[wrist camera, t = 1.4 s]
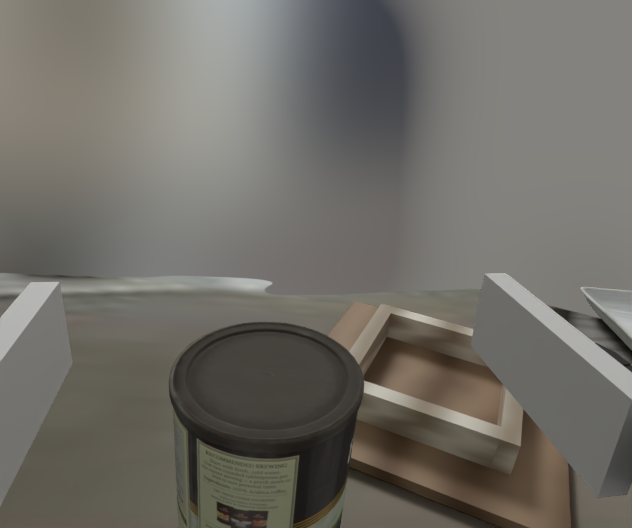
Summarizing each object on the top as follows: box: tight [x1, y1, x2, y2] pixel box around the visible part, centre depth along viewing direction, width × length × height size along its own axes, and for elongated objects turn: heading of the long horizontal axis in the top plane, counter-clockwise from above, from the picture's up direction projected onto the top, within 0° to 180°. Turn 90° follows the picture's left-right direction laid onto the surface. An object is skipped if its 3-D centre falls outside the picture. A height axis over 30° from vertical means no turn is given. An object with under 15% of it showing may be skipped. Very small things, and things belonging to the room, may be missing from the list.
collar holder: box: [328, 301, 571, 528], centre depth 47 cm, size 24×24×4 cm
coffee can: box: [169, 322, 364, 528], centre depth 30 cm, size 10×10×14 cm
